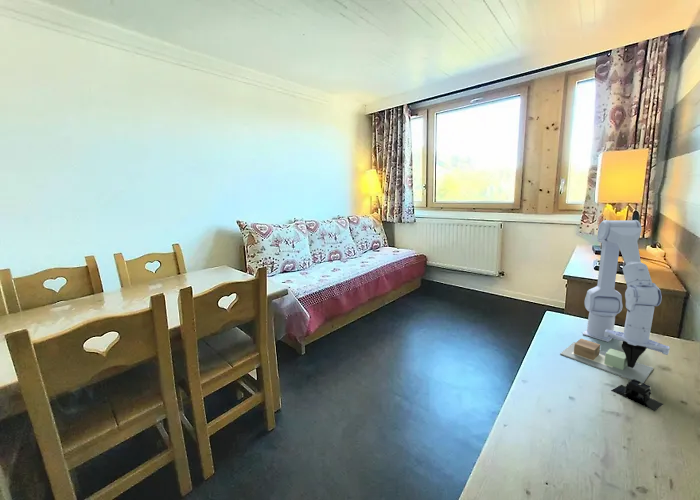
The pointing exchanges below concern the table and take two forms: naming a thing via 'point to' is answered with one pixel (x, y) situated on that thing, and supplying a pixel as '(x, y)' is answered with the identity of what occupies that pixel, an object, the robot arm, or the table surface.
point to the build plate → (637, 373)
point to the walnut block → (587, 349)
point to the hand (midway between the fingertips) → (631, 366)
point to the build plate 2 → (638, 394)
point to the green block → (615, 359)
